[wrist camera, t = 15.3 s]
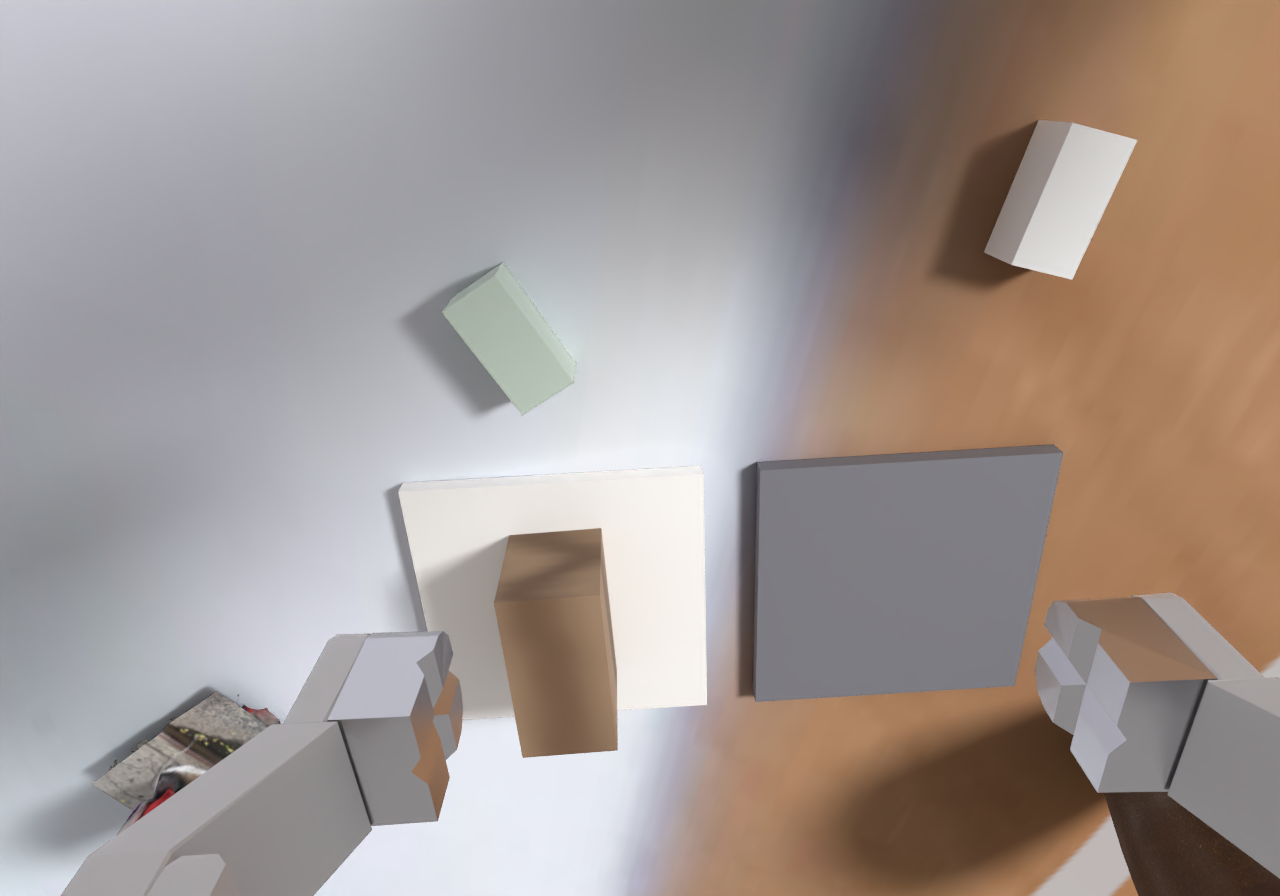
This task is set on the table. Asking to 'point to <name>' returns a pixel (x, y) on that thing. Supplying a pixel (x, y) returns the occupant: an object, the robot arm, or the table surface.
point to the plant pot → (1181, 851)
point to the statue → (181, 753)
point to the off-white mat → (634, 558)
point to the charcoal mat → (897, 570)
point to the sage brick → (511, 339)
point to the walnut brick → (558, 642)
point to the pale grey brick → (1058, 197)
